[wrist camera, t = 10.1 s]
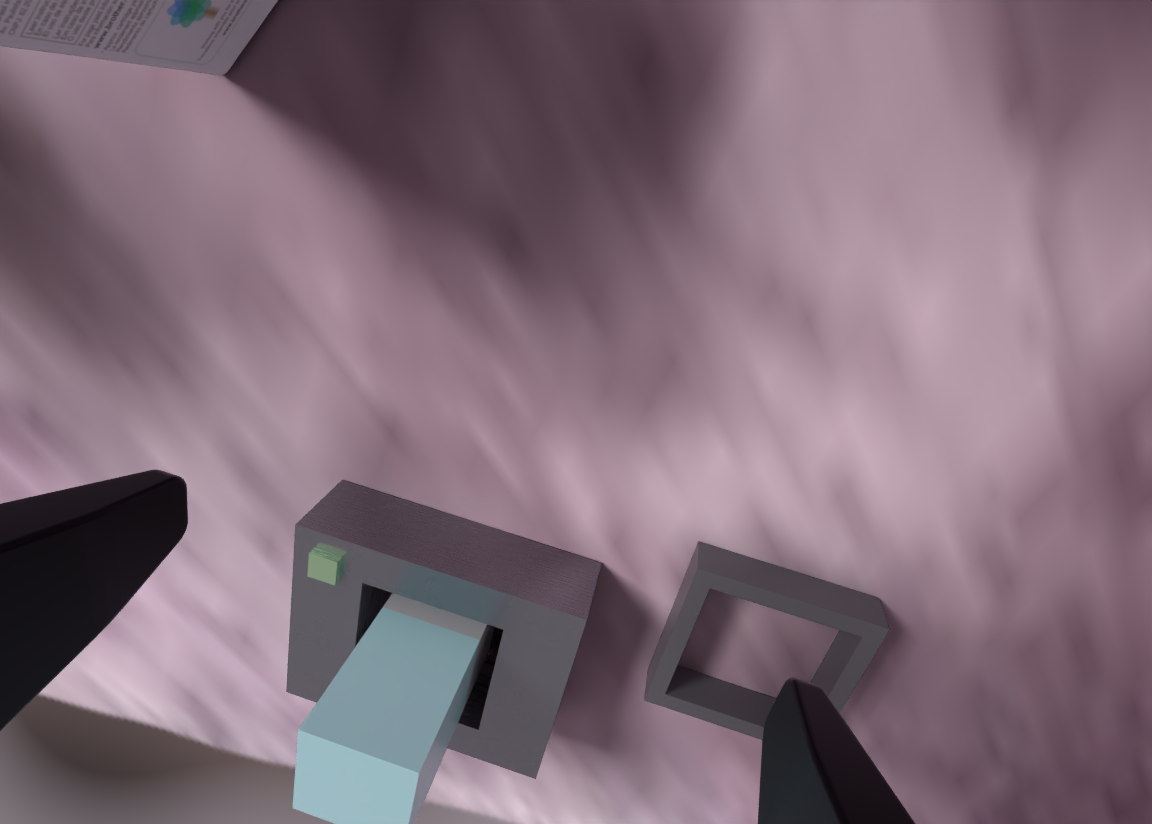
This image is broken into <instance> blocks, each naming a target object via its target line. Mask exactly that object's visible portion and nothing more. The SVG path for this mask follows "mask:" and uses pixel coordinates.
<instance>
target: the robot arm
mask: <svg viewBox="0 0 1152 824" xmlns="http://www.w3.org/2000/svg"><path fill="white" fill-rule="evenodd" d="M187 524H188V511H187V486H186V483H185V481H184V479H182V478H181V477H179V476H177V475H173V474H170V473H167V472H164V471H161V470H150V471H145V472H141V473H136V474H132V475H127V476H123V477H118V478H114V479H110V480H105V481H101V482H96V483H92V484H87V485H83V486H78V487H74V488H69V489H65V490H60V491H56V492H51V493H47V494H42V495H38V496H33V497H29V498H24V499H20V500H15V501H11V502H6V503H2V504H0V731H1V730H2V729H3V728H4V727H5V726H6V725H7V724H8V723H9V722H10V721H11V720H12V719H13V718H14V717H15V716H16V715H17V714H18V713H19V712H20V711H21V710H22V709H23V708H24V707H25V706H26V705H27V704H28V703H29V702H30V701H31V700H32V699H33V698H34V697H36V696H37V695H38V694H39V693H40V692H41V691H42V690H43V689H44V688H45V687H46V686H47V685H48V684H49V683H50V682H51V681H52V680H53V679H54V678H55V677H56V676H57V675H58V674H59V673H60V672H61V671H62V670H63V669H64V668H65V667H66V666H67V665H68V664H69V663H70V662H71V661H72V660H73V659H74V658H75V657H76V656H77V655H78V654H79V653H80V652H81V651H82V650H83V649H84V648H85V647H86V646H87V645H88V644H89V643H90V642H91V641H92V640H94V639H95V638H96V637H97V636H98V634H99V633H100V632H101V631H102V630H103V629H104V628H105V627H106V626H107V625H108V624H109V623H110V622H111V621H112V620H113V619H114V618H115V616H116V615H117V614H118V613H119V612H120V611H121V610H122V609H123V607H124V606H125V605H126V604H127V603H128V602H129V600H130V599H131V598H132V597H133V596H134V594H135V593H136V592H137V591H138V590H139V588H140V587H141V586H142V585H143V584H144V583H145V581H146V580H147V579H148V578H149V577H150V575H151V574H152V573H153V572H154V571H155V569H156V568H157V567H158V566H159V565H160V564H161V562H162V561H163V560H164V559H165V558H166V556H167V555H168V554H169V553H170V552H171V551H172V549H173V548H174V547H175V546H176V545H177V543H178V542H179V541H180V540H181V538H182V537H183V535H184V533H185V531H186V528H187ZM758 824H915V823H914V821H913V820H912V818H911V817H910V815H909V814H908V812H907V811H906V809H905V808H904V807H903V805H902V804H901V802H900V801H899V799H898V798H897V796H896V795H895V793H894V792H893V791H892V789H891V788H890V786H889V785H888V783H887V782H886V780H885V779H884V777H883V776H882V775H881V773H880V772H879V770H878V769H877V767H876V766H875V764H874V763H873V761H872V760H871V759H870V757H869V756H868V754H867V753H866V751H865V750H864V748H863V747H862V745H861V744H860V743H859V741H858V740H857V738H856V737H855V735H854V734H853V732H852V731H851V729H850V728H849V727H848V725H847V724H846V722H845V721H844V719H843V718H842V716H841V715H840V713H839V712H838V711H837V709H836V708H835V706H834V705H833V703H832V702H831V700H830V699H829V697H828V696H827V695H826V693H825V692H824V690H823V689H822V688H821V687H820V686H818V685H816V684H813V683H810V682H807V681H804V680H801V679H798V678H794V677H793V678H789V679H788V680H787V681H786V682H785V684H784V685H783V687H782V689H781V691H780V693H779V695H778V697H777V698H776V700H775V702H774V704H773V706H772V708H771V710H770V711H769V713H768V715H767V718H766V721H765V724H764V729H763V741H762V759H761V776H760V794H759V812H758Z"/></svg>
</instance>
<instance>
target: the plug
mask: <svg viewBox="0 0 1152 824" xmlns="http://www.w3.org/2000/svg"><path fill="white" fill-rule="evenodd" d="M494 629H495V627H494V626H491V625H488V624H485V623H482V622H479V621H476V620H473V619H470V618H467V617H464V616H461V615H458V614H455V613H452V612H448V611H445V610H442V609H439V608H436V607H433V606H430V605H427V604H424V603H421V602H418V601H415V600H412V599H409V598H406V597H403V596H400V595H397V594H394V593H392V595H391V596H390V598H389V599H388V600H387V602H386V603H385V605H384V606H383V608H382V609H381V611H380V612H379V613H378V615H377V616H376V618H375V619H374V621H373V622H372V624H371V625H370V627H369V628H368V629H367V631H366V632H365V634H364V635H363V637H362V638H361V640H360V641H359V643H358V644H357V645H356V647H355V648H354V650H353V651H352V653H351V654H350V656H349V657H348V659H347V660H346V661H345V663H344V664H343V666H342V667H341V669H340V670H339V672H338V673H337V674H336V676H335V677H334V679H333V680H332V682H331V683H330V685H329V686H328V688H327V689H326V690H325V692H324V693H323V695H322V696H321V698H320V699H319V701H318V702H317V704H316V705H315V706H314V708H313V709H312V711H311V712H310V714H309V715H308V717H307V718H306V720H305V721H304V722H303V724H302V725H301V727H300V728H299V730H298V742H297V755H296V769H295V782H294V796H293V808H294V809H297V810H299V811H302V812H305V813H307V814H310V815H313V816H316V817H318V818H321V819H324V820H326V821H329V822H332V823H335V824H414V823H415V821H416V819H417V816H418V814H419V812H420V809H421V807H422V805H423V803H424V800H425V798H426V796H427V793H428V791H429V789H430V786H431V784H432V782H433V779H434V777H435V775H436V772H437V770H438V768H439V765H440V763H441V761H442V758H443V756H444V754H445V751H446V749H447V747H448V744H449V742H450V740H451V738H452V735H453V733H454V731H455V728H456V726H457V724H458V721H459V719H460V717H461V714H462V712H463V710H464V707H465V705H466V703H467V700H468V698H469V696H470V693H471V691H472V689H473V686H474V684H475V682H476V679H477V677H478V675H479V673H480V670H481V668H482V666H483V663H484V661H485V659H486V656H487V654H488V652H489V649H490V645H491V641H492V637H493V633H494Z"/></svg>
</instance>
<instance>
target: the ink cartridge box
mask: <svg viewBox="0 0 1152 824" xmlns="http://www.w3.org/2000/svg"><path fill="white" fill-rule="evenodd" d="M277 1H278V0H0V46H5V47H12V48H19V49H27V50H36V51H43V52H51V53H59V54H66V55H74V56H81V57H89V58H97V59H104V60H111V61H118V62H126V63H133V64H141V65H149V66H156V67H163V68H170V69H177V70H187V71H192V72H198V73H206V74H212V75H218V76H220V75H224V74H225V73H227V72H228V70H229V69H230V68H231V66H232V65H233V63H234V62H235V61H236V59H237V58H238V56H239V55H240V53H241V52H242V51H243V49H244V48H245V46H246V45H247V44H248V42H249V41H250V39H251V38H252V37H253V35H254V34H255V32H256V31H257V30H258V28H259V27H260V25H261V24H262V23H263V21H264V20H265V18H266V17H267V15H268V14H269V13H270V11H271V10H272V8H273V7H274V6H275V4H276V3H277Z"/></svg>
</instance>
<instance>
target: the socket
mask: <svg viewBox="0 0 1152 824" xmlns="http://www.w3.org/2000/svg"><path fill="white" fill-rule="evenodd" d="M601 564H602V563H601V562H597V561H594V560H591V559H588V558H585V557H582V556H579V555H576V554H572V553H569V552H566V551H563V550H560V549H557V548H554V547H551V546H548V545H544V544H541V543H538V542H535V541H532V540H529V539H526V538H523V537H519V536H516V535H513V534H510V533H507V532H504V531H501V530H498V529H494V528H491V527H488V526H485V525H482V524H479V523H476V522H473V521H469V520H466V519H463V518H460V517H457V516H454V515H451V514H448V513H444V512H441V511H438V510H435V509H432V508H429V507H426V506H423V505H419V504H416V503H413V502H410V501H407V500H404V499H401V498H398V497H395V496H391V495H388V494H385V493H382V492H379V491H376V490H373V489H370V488H366V487H363V486H360V485H357V484H354V483H351V482H348V481H345V480H342V481H341V482H340V483H338V484H337V485H336V486H335V487H334V488H333V489H332V490H331V491H330V492H329V493H328V494H327V495H326V496H325V497H324V498H323V499H322V500H321V501H320V502H319V503H318V504H316V505H315V506H314V507H313V508H312V509H311V510H310V511H309V512H308V513H307V514H306V515H305V516H304V517H303V518H302V519H301V520H300V521H299V522H298V523H297V524H296V525H295V542H294V560H293V579H292V597H291V616H290V634H289V653H288V671H287V690H286V692H288V693H291V694H294V695H297V696H300V697H303V698H305V699H308V700H311V701H314V702H318V701H319V699H320V698H321V696H322V695H323V693H324V692H325V690H326V689H327V688H328V686H329V685H330V683H331V682H332V680H333V679H334V677H335V676H336V674H337V673H338V672H339V670H340V669H341V667H342V666H343V664H344V663H345V661H346V660H347V659H348V657H349V656H350V654H351V653H352V651H353V650H354V648H355V647H356V645H357V644H358V643H359V641H360V640H361V638H362V637H363V635H364V634H365V632H366V631H367V629H368V628H369V627H370V625H371V624H372V622H373V621H374V619H375V618H376V616H377V615H378V613H379V612H380V611H381V609H382V608H383V606H384V605H385V603H386V602H387V600H388V599H389V598H390V596H391V595H392V593H394V594H397V595H400V596H403V597H406V598H409V599H412V600H415V601H418V602H421V603H424V604H427V605H430V606H433V607H436V608H439V609H442V610H445V611H448V612H452V613H455V614H458V615H461V616H464V617H467V618H470V619H473V620H476V621H479V622H482V623H485V624H488V625H491V626H494V627H497V628H500V629H503V634H502V638H501V642H500V646H499V650H498V654H497V658H496V662H495V665H492V664H489V663H486V662H484V663H483V666H482V668H481V670H480V673H479V675H478V677H477V679H476V682H475V684H474V686H473V689H472V691H471V693H470V696H469V698H468V700H467V703H466V705H465V707H464V710H463V712H462V714H461V717H460V719H459V721H458V724H457V726H456V728H455V731H454V733H453V735H452V738H451V740H450V742H449V744H448V747H447V748H449V749H451V750H454V751H457V752H460V753H463V754H466V755H469V756H472V757H474V758H477V759H480V760H483V761H486V762H489V763H492V764H494V765H497V766H500V767H503V768H506V769H509V770H512V771H515V772H517V773H520V774H523V775H526V776H529V777H532V778H535V779H536V776H537V773H538V770H539V767H540V764H541V761H542V758H543V755H544V752H545V748H546V745H547V742H548V739H549V736H550V733H551V730H552V727H553V724H554V721H555V717H556V714H557V711H558V708H559V705H560V702H561V699H562V696H563V693H564V690H565V687H566V683H567V680H568V677H569V674H570V671H571V668H572V665H573V662H574V659H575V656H576V653H577V649H578V646H579V643H580V640H581V637H582V634H583V631H584V628H585V625H586V622H587V618H588V614H589V610H590V606H591V603H592V599H593V595H594V591H595V587H596V583H597V579H598V575H599V572H600V568H601Z"/></svg>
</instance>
